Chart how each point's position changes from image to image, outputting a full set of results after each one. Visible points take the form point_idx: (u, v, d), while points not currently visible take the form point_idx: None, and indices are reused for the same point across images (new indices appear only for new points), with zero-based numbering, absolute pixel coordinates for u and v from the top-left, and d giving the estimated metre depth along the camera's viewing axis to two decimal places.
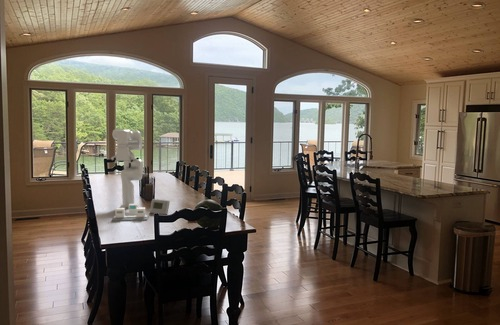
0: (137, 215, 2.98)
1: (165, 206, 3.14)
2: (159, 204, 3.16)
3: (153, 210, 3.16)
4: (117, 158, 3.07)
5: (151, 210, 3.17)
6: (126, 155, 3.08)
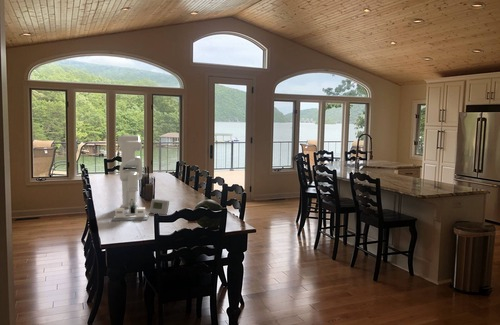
0: (137, 215, 2.98)
1: (165, 206, 3.14)
2: (159, 204, 3.16)
3: (153, 210, 3.16)
4: (135, 202, 3.08)
5: (151, 210, 3.17)
6: (136, 197, 3.14)
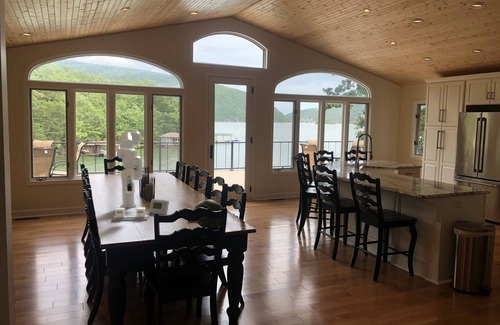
0: (137, 215, 2.98)
1: (164, 206, 3.13)
2: (158, 204, 3.16)
3: (152, 210, 3.16)
4: (132, 179, 2.93)
5: (150, 210, 3.17)
6: (133, 175, 2.99)
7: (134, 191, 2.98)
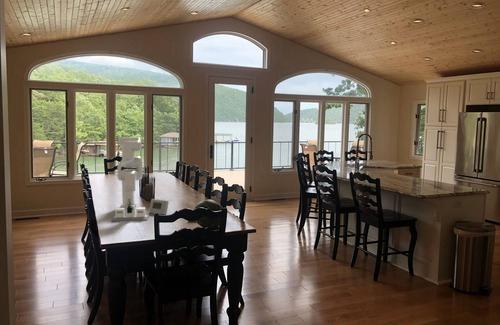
0: (137, 215, 2.98)
1: (164, 206, 3.13)
2: (158, 204, 3.16)
3: (152, 210, 3.16)
4: (132, 202, 2.95)
5: (150, 210, 3.17)
6: None
7: (134, 215, 3.00)
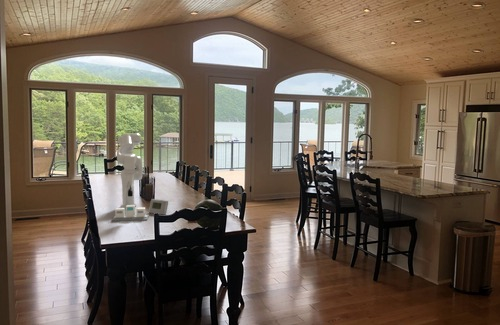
0: (137, 215, 2.98)
1: (164, 206, 3.13)
2: (158, 204, 3.16)
3: (152, 210, 3.16)
4: (132, 185, 2.93)
5: (150, 210, 3.17)
6: (133, 180, 3.00)
7: (134, 215, 3.00)
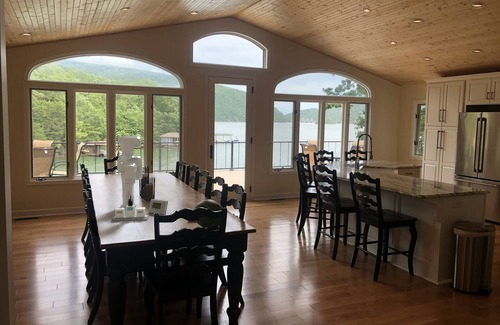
0: (137, 215, 2.98)
1: (163, 206, 3.13)
2: (158, 204, 3.15)
3: (152, 210, 3.16)
4: (132, 194, 2.94)
5: (150, 210, 3.17)
6: None
7: (134, 215, 3.00)
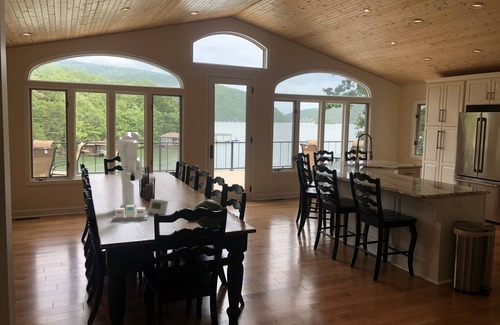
0: (137, 215, 2.98)
1: (163, 206, 3.13)
2: (157, 204, 3.15)
3: (152, 210, 3.16)
4: (134, 170, 3.06)
5: (150, 210, 3.17)
6: None
7: (134, 215, 3.00)
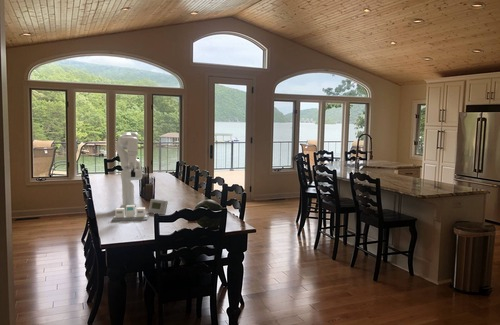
0: (137, 215, 2.98)
1: (163, 206, 3.13)
2: (157, 204, 3.15)
3: (151, 210, 3.16)
4: (135, 166, 3.08)
5: (149, 210, 3.17)
6: None
7: (134, 215, 3.00)
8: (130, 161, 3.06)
